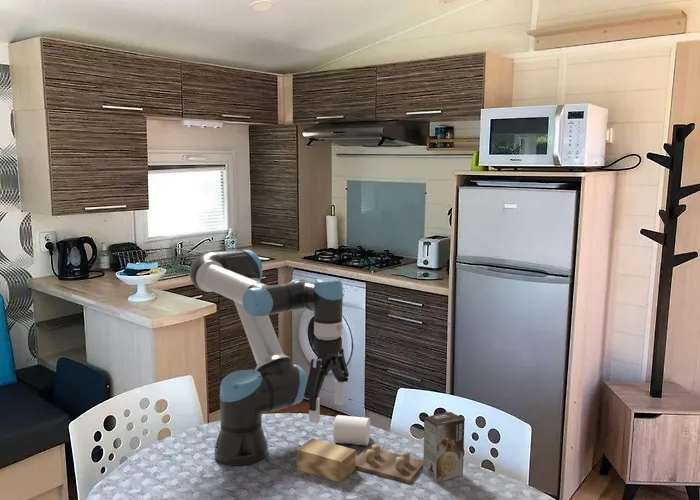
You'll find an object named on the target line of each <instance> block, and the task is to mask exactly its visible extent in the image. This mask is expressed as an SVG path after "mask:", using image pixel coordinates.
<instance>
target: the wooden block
mask: <svg viewBox="0 0 700 500" xmlns="http://www.w3.org/2000/svg"><path fill="white" fill-rule="evenodd" d="M356 450H357V449H354V448H350V447H348V446H347V447H346V446H343V445H339V444H335V443H332V442H327V441H324V440H319V439H316V438H311V439H310V440H308V441H306V442H305V443H304V444H302V445H301V446H300V447H298V448H297V449H296V470H298V471H300V472H304V473H308V474H310V475H314V476H317V477H321V478H324V479H327V480H331V481H335V482H337V483H343V481H345V480H346V479H347V478H348V477H349V476H350V475H351V474H352V473H353V472H355V471H356V469H355V464H356V457H357V456H356V455H357V451H356Z"/></svg>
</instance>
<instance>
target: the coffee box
mask: <svg viewBox="0 0 700 500" xmlns="http://www.w3.org/2000/svg"><path fill="white" fill-rule="evenodd" d="M423 423H424V424H423V458H422V460H423V468H422V470H423V471H422V473H423V474H424V475H425V476H427V477H428V478H429V479H430V480H432V481H433V482H434V483H436V484H437V483H440V482H444V481H448V480H451V479H456V478H459V477H462V476H464V454H465V453H464V448H465V418H463V417H460V416H459V415H457V413H456V414H455V413H454V412H452V411H447V412H443V413H438V414H433V415H428V416H425V417H423Z"/></svg>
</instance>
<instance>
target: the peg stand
mask: <svg viewBox="0 0 700 500" xmlns="http://www.w3.org/2000/svg"><path fill="white" fill-rule="evenodd" d="M355 470H358V471H362V472H366V473H369V474H373V475H377V476H381V477H383V478H387V479H391V480H395V481H398V482H402V483H406V484H409V485H410V484H411V483H412V482H413V481H414V479H415V478H416V477H417V476H418V475H419V473H420V472H421V470H423V459H420V458H419V459H418V458H416V457H412V456H411V453H410V451H406V450H404V451H401V452H400V454H399V453H395V452H391V451H387V450H382V449H381V445H380V444H378V443H375V444H372V445H371V447H370V446H366V448H365V449H364V450H362V451H361V453H359V454H358V455H357V456H356V464H355Z"/></svg>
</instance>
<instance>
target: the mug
mask: <svg viewBox="0 0 700 500" xmlns="http://www.w3.org/2000/svg"><path fill="white" fill-rule="evenodd" d="M333 422H334V423H333V430H332V432H333V433H332V435H333V436H332V437H333V441H334V442H333V443H339V444H348V445H359V446H365V447H368V445H369V442H370V436H371V418H370V417H362V416H352V415H351V416H350V415H341V414H338V415H336V416H335V420H334V421H333Z"/></svg>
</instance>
